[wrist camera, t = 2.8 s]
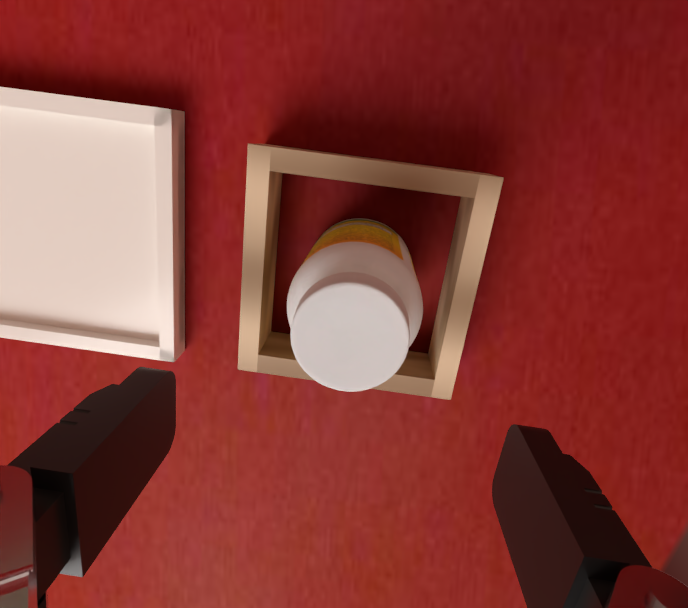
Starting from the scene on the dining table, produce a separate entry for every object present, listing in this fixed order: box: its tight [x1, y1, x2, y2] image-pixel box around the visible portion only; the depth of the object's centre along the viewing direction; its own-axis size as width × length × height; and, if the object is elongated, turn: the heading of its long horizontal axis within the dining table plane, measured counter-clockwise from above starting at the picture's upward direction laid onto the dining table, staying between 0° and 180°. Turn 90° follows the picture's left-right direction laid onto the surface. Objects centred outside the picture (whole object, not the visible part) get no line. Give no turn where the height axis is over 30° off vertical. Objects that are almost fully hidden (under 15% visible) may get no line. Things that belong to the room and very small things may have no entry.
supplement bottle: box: [287, 218, 423, 392], centre depth 19 cm, size 5×5×10 cm
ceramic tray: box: [0, 87, 185, 362], centre depth 23 cm, size 13×13×2 cm
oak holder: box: [238, 144, 504, 400], centre depth 22 cm, size 11×11×3 cm
